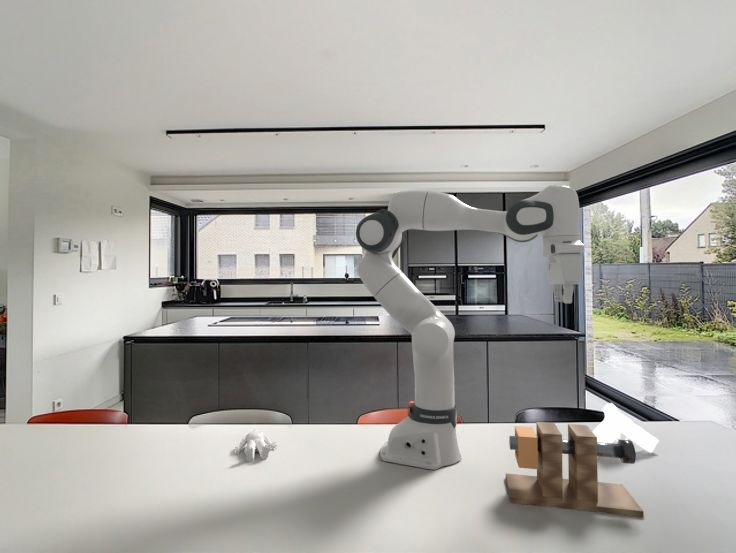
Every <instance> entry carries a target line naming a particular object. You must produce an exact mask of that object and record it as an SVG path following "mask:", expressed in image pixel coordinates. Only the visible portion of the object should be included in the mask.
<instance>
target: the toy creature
mask: <svg viewBox="0 0 736 553" xmlns="http://www.w3.org/2000/svg"><path fill="white" fill-rule="evenodd" d="M246 444H247V446H246ZM245 446H246V447H245ZM244 447H245V448H244ZM277 447H278V445H277V442H274V441H273V442H272V441H271V438H270V437H269V436H268V435H267V434H265V433H264V432H262V431H261V430H257V429H254V430H253V431H250V432H249V433H247V435H245V436H244V437H243V438H242V439H241V441H240V442H239V446H235V447H234V448H235V450H234V451H233V452H235V453H234V454H235V455H236V454H237V456H239V454H240V453H241V452H242V451H241V450H242V449H243V448H244V450H243V451H244V455H245V459H246V461H247V462H248V463H249V462H254V460H255V452H256V453H259V458H260V460H261V461H266V460H267V459H268V457H269V453H270V451H271V449H272V451H275V450H277Z"/></svg>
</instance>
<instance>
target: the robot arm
mask: <svg viewBox="0 0 736 553" xmlns="http://www.w3.org/2000/svg"><path fill="white" fill-rule="evenodd" d="M580 209H581V208H580V202H579V196H578V193H577V191H576V190H575V189H574V188H573V187H570V186H567V185H560V184H556V185H555V184H554V185H549V186H545V188H544V189H543V190H541V191H540V192H538V193H536V194H534V195H532V196H531V197H528V198H525V199H521V200H518V201H516V202H515V203H513V204H511V206H510V207H509V208H508V210H504V211H501V210H493V209H492V210H491V209H484V208H483V209H482V208H477V207H474V206H470V205H468V204H466V203H464V202H463V201H461V200H460V199H458V198H457V197H456V196H454V195H452V194H449V193H445V192H442V191H436V190H420V189H419V190H417V189H416V190H403V191H398V192H396V193H394V194H393V195H392V196H391V198H390V200H389V202H388V207H387V209H385V208H382V209H379V210H377V211H376V212H373V213H371V214H369V215H368V214H367V216H365V217H363V218H361V220H360V221H359V222H358V224H357V227H356V230H355V237H356V239H357V242H358V244H359V246H360V247H361V248H362V249H363V250H364V251H365V253H364V254H365V255H364V256H363V257H362V258H361V259H360V260H359V262H358V264H357V268H356V272H357V275H358V277H359V279H360V280H361V281H362V284H363V285H364V286H365V287H366V289H367V290H368V291H369V293H370V294H371V295H372V297H373V298H374V299H375V300H376V302H378V304H380V306H381V307H382V308H383V309H384V310H385V311H386V313H387V314H388V315H389V317H391V318H392V319H393V320H394V321H396V322H397V323H398V324H399V325H401V326H402V327H403V328H404V330H406V331H407V332H408V333H409V334H410V335H411V347H412V362H413V370H414V371H413V372H414V400H410V401H409V402H408V403H407V416H406V417H405V418H404V419H402V420H400V421H399V422H398V423H397V424H395V425H394V426H393V427H392V428H391V430H390V433H389V435H388V439H387V441H386V442H384V443H383V444H382V446H381V448H380V451H379V458H380V459H381V460H382V461H383V462H389V463H392V464H393V463H394V464H399V465H406V466H409V467H416V468H422V469H427V470H434V471H435V470H439V469H440V468H442V467H445V466H451V465H454V464H456V463H458V462H459V461H460V460H461V459H462V455H461V451H460V448H459V444H458V438H457V430H456V429H457V422H458V421H457V420H458V419H457V418H458V417H457V416H458V413H457V412H458V410H457V406H456V404H455V399H456V398H455V366H454V365H455V364H454V362H455V361H454V341H455V338H456V337H455V336H456V332H455V327H454V326H453V323H452V322H451V321H450V320H449V319H448V317H446V316H445V314H444V313H442V312H441V311H440V309H439V308H438V307H436V305H435V304H433V302H431V300H430V299H428V298H427V297H426V296H425V295H424V294H423V293H422V291H420V290H419V289H418V288H417V286H416V285H415V284H414V283H413V282H412V281H411V280H410V279H409V277H407V276H406V274H405V273H404V272H403V271H402V270H401V269H400V268H399V267H398V265H397V264H396V263H395V262H394V260H393V259H394V258H395V256H396V255H397V253H398V251H399V249H400V248H401V246H402V243H403V242H404V232H405V231H407V230H418V231H419V230H420V231H430V232H434V231H435V232H445V231H447V232H448V231H460V230H461V231H462V230H469V231H479V232H487V233H493V234H494V233H495V234H500V235H503V236H505V237H507V238H508V239H510V240H512V241H514V242H516V243H528V242H532V241H533V240H535V239H536V238H537V237H538V236H539V235H541V236H542V255H543V257H548V259H547V269H546V271H547V272H546V273H547V274H546V275H547V277H546V278H547V284H548V285H551V286H552V291H553V296H554V302H555V303H564V304H572V303H573V293H574V289H575V286H574V285H580V283H581V280H582V271H583V270H582V269H583V255H582V254H584V252H585V245H584V243H582V241H581V232H580V230H579V228H580V227H579V226H580V221H581V214H580V211H581V210H580Z"/></svg>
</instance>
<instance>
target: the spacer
mask: <svg viewBox="0 0 736 553" xmlns="http://www.w3.org/2000/svg"><path fill="white" fill-rule="evenodd" d="M514 436H517V439H518V450H514V457H515V460H516V463H517V466H518V468H519V469H530V470H537V469H538V445H537V433H536V431H535V430H534V428H533V427H532V426H517V425H515V426H514Z"/></svg>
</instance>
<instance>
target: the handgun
mask: <svg viewBox="0 0 736 553" xmlns="http://www.w3.org/2000/svg"><path fill="white" fill-rule="evenodd" d="M602 412H603V413H604V418H603V420H602V421H601V422H600V423H599V424H597V426H596V427H595V428H593V430H591V431H592V432H593V433H594V434H595V436H596V437H597V442H601V443H614V442H615V441H616V442H617V443H618V441H619V440H621V435H623V436H625V437H626V438H625V439H624V440H631V441H632V443H635V444H636V445H637V446H639V447H641V448H642V449H643V450H645V451H647V452H649V454H650V453H651V454H652V453H653V451H654V450H655V448H656V447H657V445H658V443H659V441H660V440H659V439H658V438H657V437H656V436H654V435H652V434H651V433H650V432H648V430H647V431H646V430H645V429H644V428H643V427H641V426H640V425H638V424H636V423H635V422H634V421H633V420H632V419H631V418H629V417H628V416H626V415H625V414H624V413H622V412H621V411H619V408H618V407H617V406H616V405H615V404H614V403H612V402H610V403H606V404H605V405H604V406H603V407H602Z"/></svg>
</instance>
